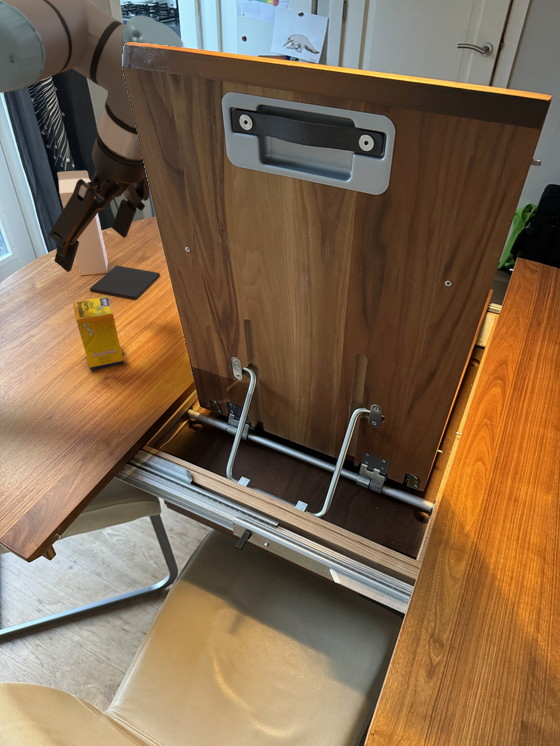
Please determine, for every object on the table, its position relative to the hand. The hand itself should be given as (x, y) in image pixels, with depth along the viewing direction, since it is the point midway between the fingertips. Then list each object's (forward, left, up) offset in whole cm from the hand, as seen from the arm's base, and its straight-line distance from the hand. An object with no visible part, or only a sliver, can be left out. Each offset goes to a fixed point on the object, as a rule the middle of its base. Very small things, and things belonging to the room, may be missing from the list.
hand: (92, 248), depth 86 cm
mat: (-8, +19, -19) cm, 28 cm away
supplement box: (+2, -6, -19) cm, 20 cm away
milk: (-19, +23, -19) cm, 35 cm away
